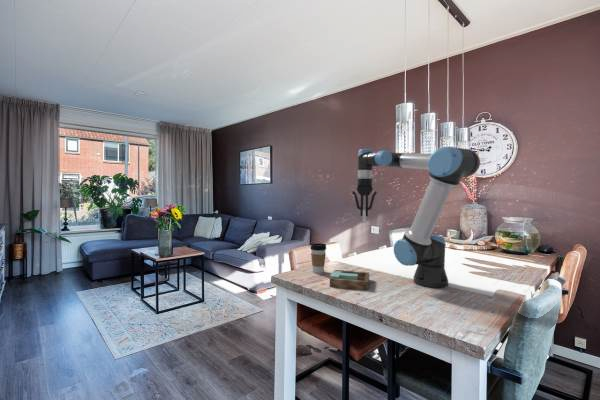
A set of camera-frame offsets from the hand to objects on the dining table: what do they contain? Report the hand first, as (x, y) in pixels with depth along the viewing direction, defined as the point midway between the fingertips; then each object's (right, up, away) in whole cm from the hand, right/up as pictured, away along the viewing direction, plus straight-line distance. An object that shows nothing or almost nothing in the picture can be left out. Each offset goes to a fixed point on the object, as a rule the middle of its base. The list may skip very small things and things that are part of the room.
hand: (364, 222), depth 163 cm
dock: (-11, -27, -20) cm, 35 cm away
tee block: (-13, -27, -19) cm, 36 cm away
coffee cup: (-25, -27, -2) cm, 36 cm away
